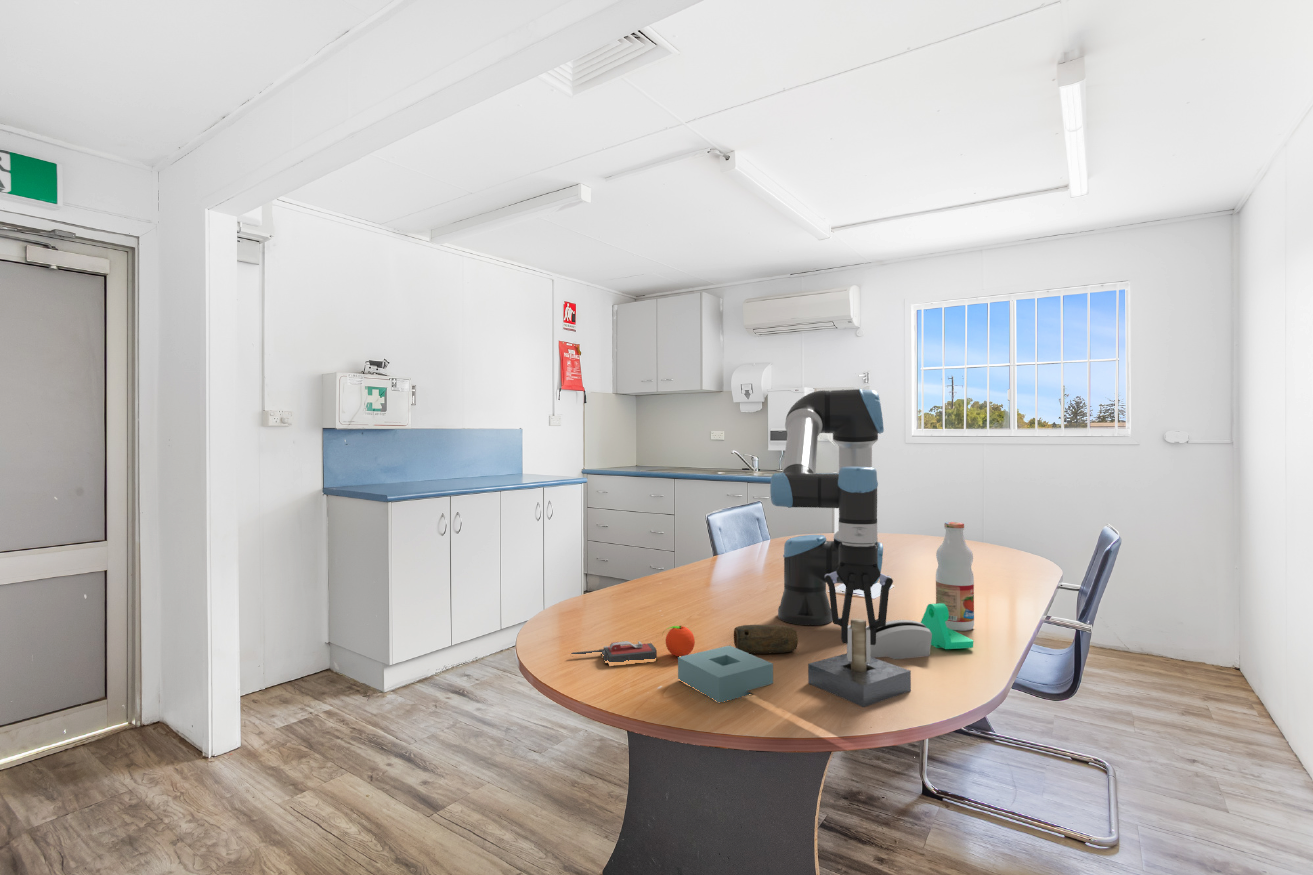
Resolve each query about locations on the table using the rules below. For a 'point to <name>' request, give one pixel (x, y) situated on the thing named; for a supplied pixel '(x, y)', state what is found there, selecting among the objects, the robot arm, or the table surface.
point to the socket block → (724, 672)
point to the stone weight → (765, 638)
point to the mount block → (859, 680)
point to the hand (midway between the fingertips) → (858, 659)
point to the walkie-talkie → (626, 651)
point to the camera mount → (943, 629)
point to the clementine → (680, 641)
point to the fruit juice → (955, 578)
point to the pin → (858, 645)
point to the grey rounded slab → (902, 640)
